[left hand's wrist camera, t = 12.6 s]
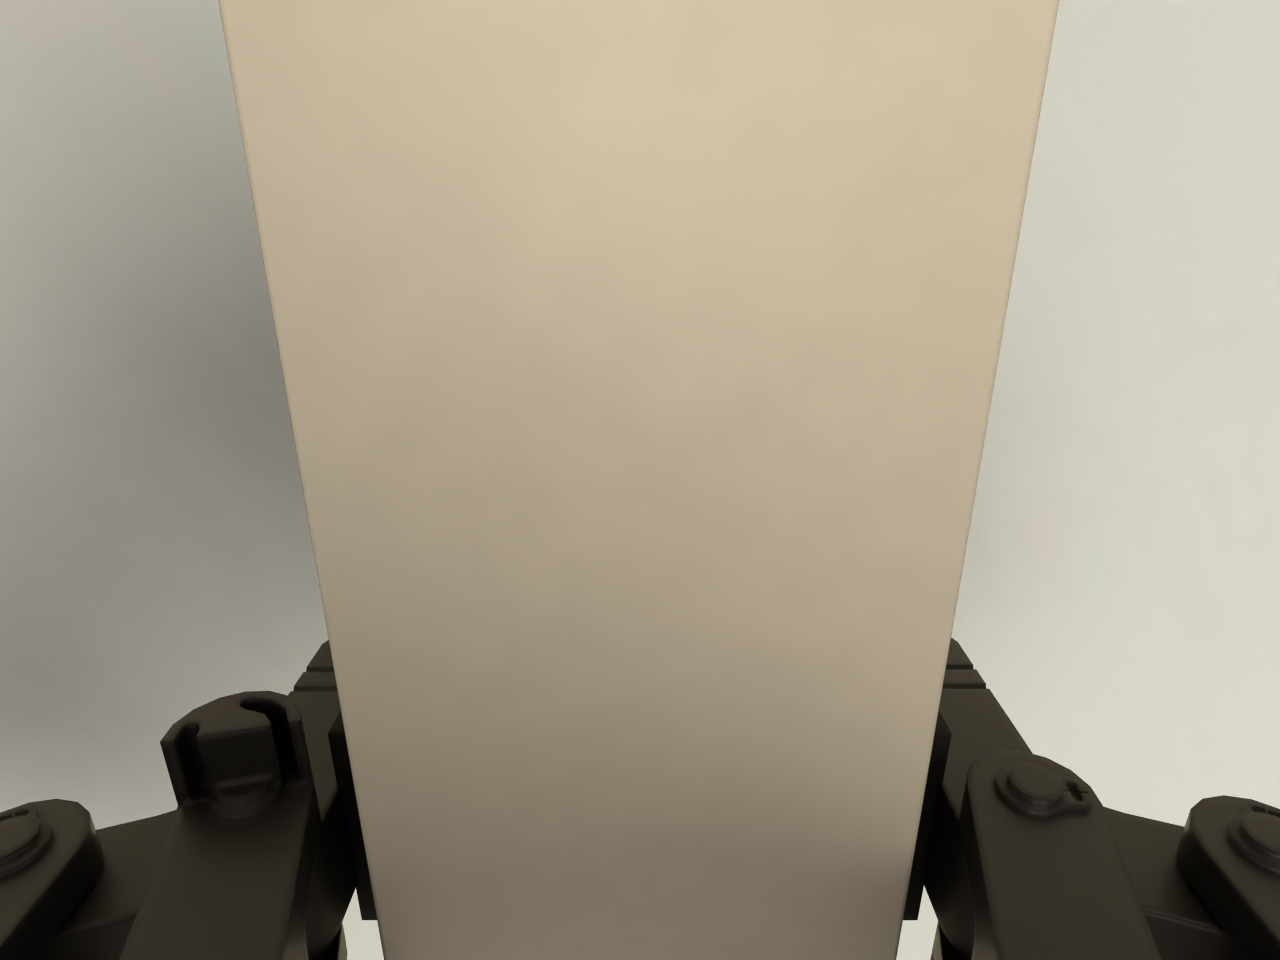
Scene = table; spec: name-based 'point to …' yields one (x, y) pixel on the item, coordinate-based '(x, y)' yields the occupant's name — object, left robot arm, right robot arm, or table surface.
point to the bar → (639, 441)
